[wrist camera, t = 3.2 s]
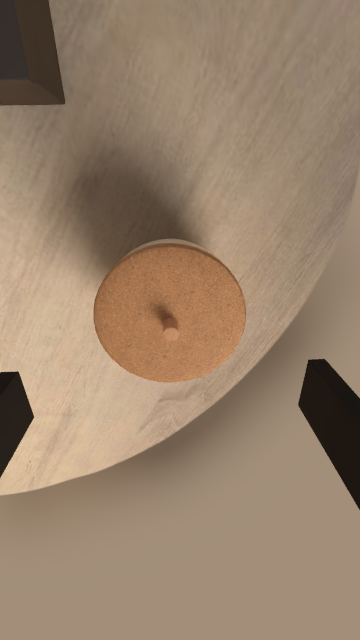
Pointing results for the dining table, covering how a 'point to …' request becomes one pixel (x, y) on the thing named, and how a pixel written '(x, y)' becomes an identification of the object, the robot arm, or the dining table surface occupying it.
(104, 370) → the dining table surface
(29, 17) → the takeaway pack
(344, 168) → the dining table surface
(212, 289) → the lidded bowl
